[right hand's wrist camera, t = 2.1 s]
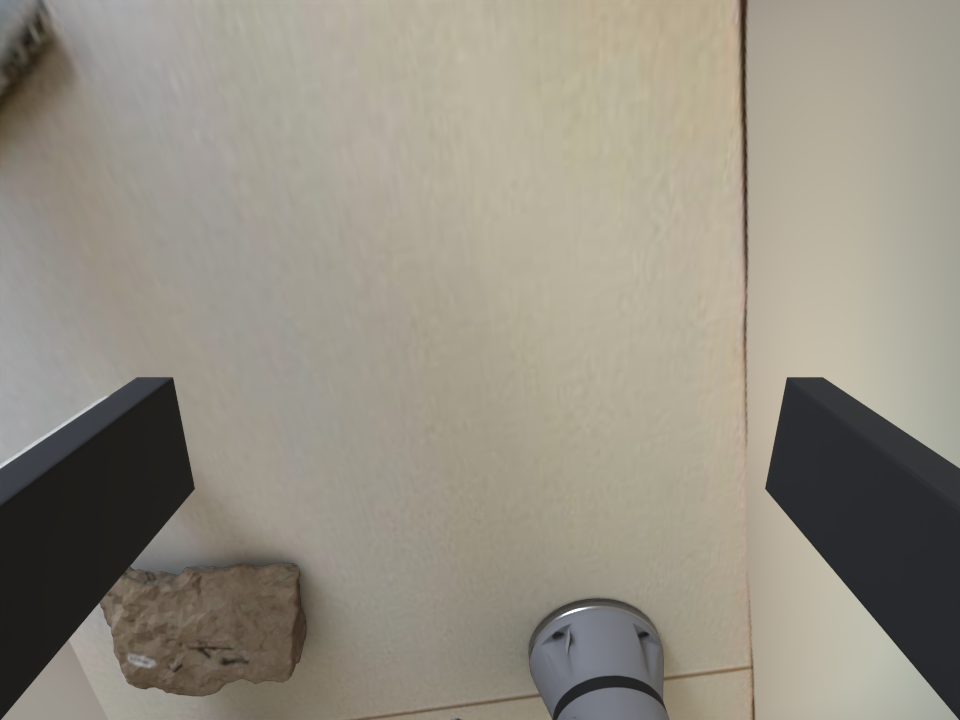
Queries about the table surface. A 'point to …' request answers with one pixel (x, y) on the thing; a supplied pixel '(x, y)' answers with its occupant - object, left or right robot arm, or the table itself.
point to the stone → (206, 626)
